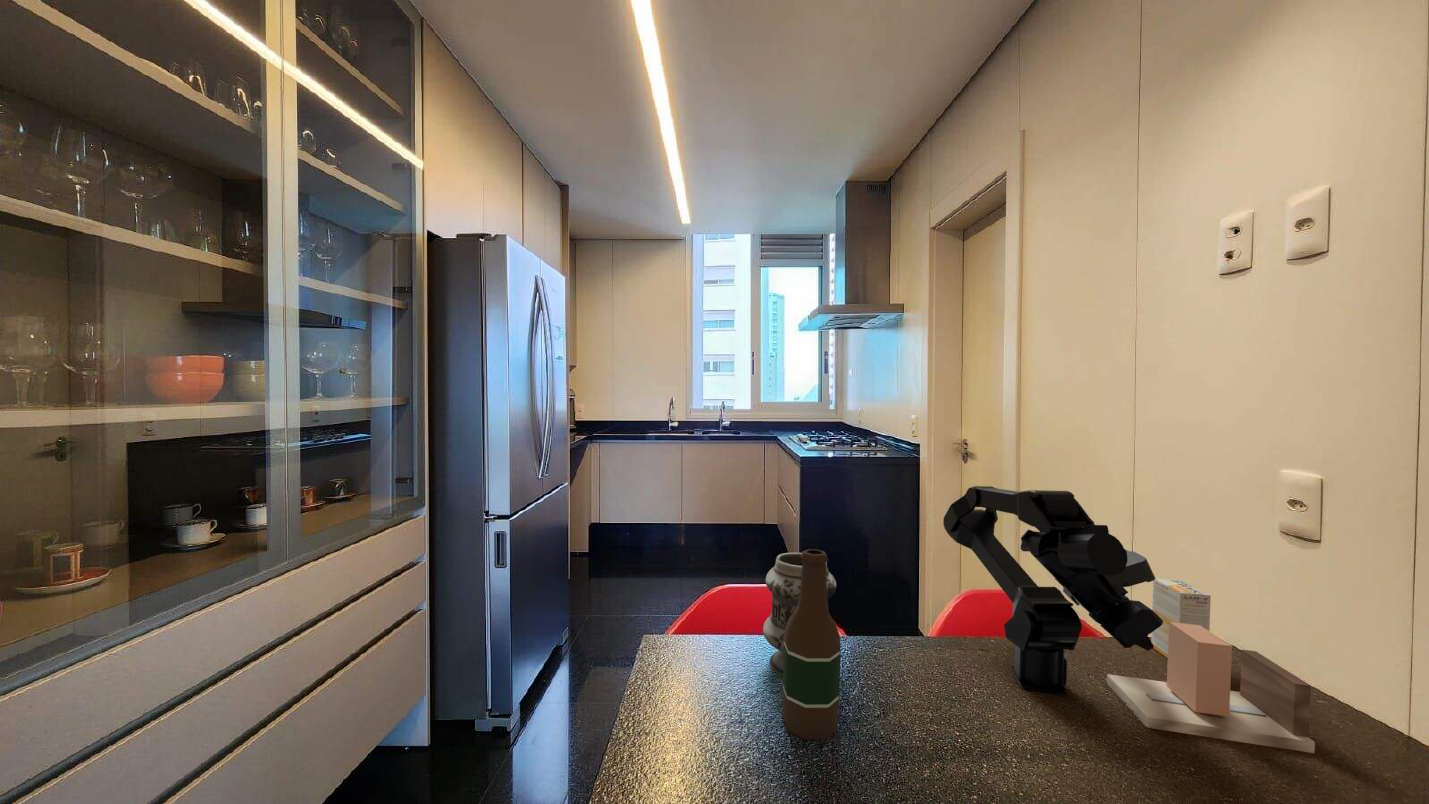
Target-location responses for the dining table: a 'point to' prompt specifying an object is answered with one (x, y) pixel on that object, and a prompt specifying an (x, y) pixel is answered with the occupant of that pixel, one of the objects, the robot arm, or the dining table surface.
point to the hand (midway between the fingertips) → (1150, 647)
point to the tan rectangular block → (1199, 668)
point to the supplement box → (1177, 609)
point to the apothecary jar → (786, 601)
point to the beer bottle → (811, 657)
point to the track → (1231, 707)
